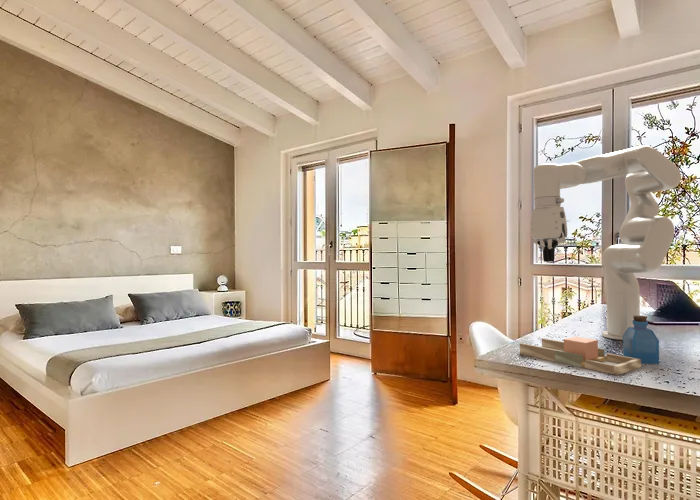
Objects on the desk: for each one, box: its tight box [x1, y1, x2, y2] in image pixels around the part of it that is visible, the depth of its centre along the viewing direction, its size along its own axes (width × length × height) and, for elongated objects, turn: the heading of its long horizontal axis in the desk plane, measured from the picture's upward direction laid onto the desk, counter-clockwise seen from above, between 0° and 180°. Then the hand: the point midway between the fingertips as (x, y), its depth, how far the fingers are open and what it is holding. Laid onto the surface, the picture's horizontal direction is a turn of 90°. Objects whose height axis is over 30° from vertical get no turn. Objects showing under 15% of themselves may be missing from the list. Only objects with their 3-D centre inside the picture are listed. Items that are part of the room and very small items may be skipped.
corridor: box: [519, 337, 642, 376], centre depth 119 cm, size 12×27×3 cm, turn 33°
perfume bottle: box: [622, 315, 660, 365], centre depth 117 cm, size 6×6×12 cm
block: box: [563, 336, 599, 362], centre depth 117 cm, size 6×6×6 cm
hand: (548, 261), depth 137 cm, fingers closed
